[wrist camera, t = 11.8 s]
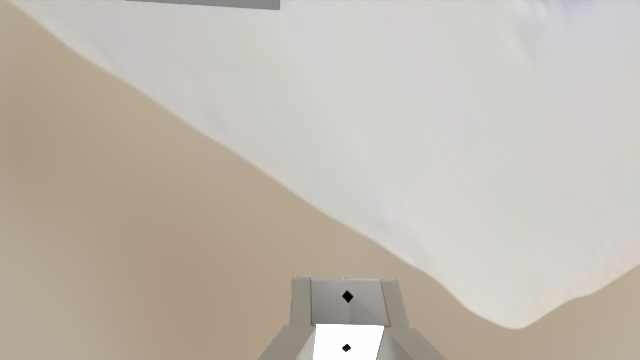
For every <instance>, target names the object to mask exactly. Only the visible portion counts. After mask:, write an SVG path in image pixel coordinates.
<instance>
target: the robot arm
mask: <svg viewBox="0 0 640 360" xmlns="http://www.w3.org/2000/svg"><path fill="white" fill-rule="evenodd" d="M258 360H447V359H446V358H445V357H444V356H443V355H442V354H441V353H440V352H439V351H438V350H437V349H436V348H435V347H434V346H433V345H432V344H431V343H430V342H429V341H428V340H427V339H426V338H425V337H424V336H423V335H422V334H421V333H420V332H419V331H418V330H417V329H416V328H410V325H409V320H408V317H407V313H406V309H405V305H404V301H403V297H402V293H401V289H400V285H399V282H398V281H397V280H391V279H379V280H378V279H352V278H350V279H349V278H344V279H341V278H339V279H338V278H324V277H301V276H292V282H291V299H290V314H289V325H285V326H284V327H283V328H282V329H281V331H280V332H279V333H278V334H277V336H276V337H275V338H274V339H273V341H272V342H271V343H270V345H269V346H268V347H267V348H266V350H265V351H264V352H263V353H262V355H261V356H260V357H259V359H258Z"/></svg>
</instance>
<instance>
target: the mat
mask: <svg viewBox="0 0 640 360" xmlns="http://www.w3.org/2000/svg"><path fill="white" fill-rule="evenodd" d="M126 1H142V2H158V3H174V4H189V5H205V6H221V7H237V8H253V9H268V10H280V0H126Z"/></svg>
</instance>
